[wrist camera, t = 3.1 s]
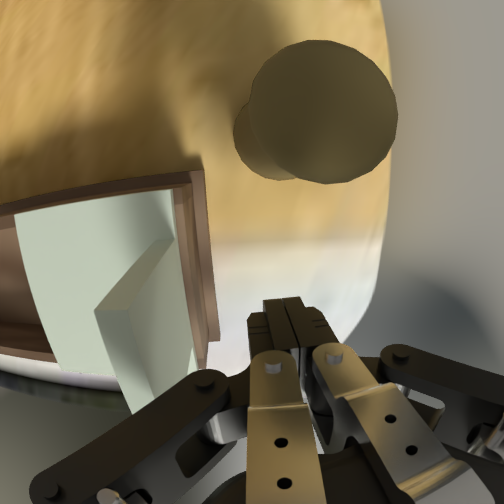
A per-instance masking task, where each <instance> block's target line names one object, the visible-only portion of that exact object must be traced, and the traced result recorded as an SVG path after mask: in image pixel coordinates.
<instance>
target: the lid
mask: <svg viewBox="0 0 504 504" xmlns="http://www.w3.org/2000/svg"><path fill="white" fill-rule="evenodd" d="M14 218H15V224H16V230H17V235H18V240H19V245H20V250H21V254H22V259H23V263H24V267H25V271H26V275H27V278H28V282H29V285H30V289H31V292H32V296H33V299H34V302H35V305H36V308H37V311H38V314H39V317H40V320H41V322H42V325H43V328H44V331H45V333H46V336H47V338H48V341H49V343H50V346H51V348H52V351H53V353H54V355H55V358H56V360H57V362H58V364H59V366H60V369H61V371H69V372H78V373H87V374H98V375H112V376H116V377H117V380H118V382H119V385H120V387H121V389H122V392H123V394H124V396H125V399H126V401H127V403H128V406H129V408H130V410H131V412H132V414H134V413H136V412H137V411H138V410H140V409H141V408H143V407H144V406H146V405H147V404H148V403H150V402H151V401H153V400H154V399H156V398H157V397H158V396H160V395H161V394H163V393H164V392H165V391H167V390H168V389H169V388H171V387H172V386H174V385H175V384H176V383H178V382H179V381H180V380H182V379H183V378H184V377H186V376H187V375H189V374H190V373H192V372H194V371H197V370H199V367H198V362H197V357H196V352H195V347H194V342H193V336H192V331H191V325H190V319H189V313H188V307H187V301H186V295H185V288H184V281H183V275H182V267H181V260H180V252H179V244H178V236H177V228H176V218H175V209H174V199H173V189H165V190H156V191H148V192H140V193H132V194H124V195H117V196H110V197H104V198H97V199H91V200H85V201H79V202H73V203H67V204H62V205H56V206H51V207H46V208H41V209H36V210H31V211H26V212H22V213H18V214H15V215H14Z"/></svg>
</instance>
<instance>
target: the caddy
mask: <svg viewBox="0 0 504 504" xmlns="http://www.w3.org/2000/svg"><path fill="white" fill-rule="evenodd" d="M165 189H173V199H174V209H175V218H176V228H177V236H178V244H179V252H180V260H181V267H182V275H183V281H184V288H185V295H186V301H187V307H188V313H189V319H190V325H191V331H192V336H193V342H194V347H195V352H196V357H197V362H198V367H199V369H206V363H207V353H208V343H209V342H213V341H220V327H219V319H218V311H217V302H216V293H215V284H214V275H213V266H212V256H211V245H210V235H209V224H208V212H207V200H206V187H205V173H204V170H196V171H186V172H177V173H168V174H159V175H152V176H144V177H137V178H130V179H123V180H117V181H110V182H104V183H98V184H93V185H87V186H82V187H77V188H71V189H66V190H62V191H57V192H52V193H48V194H43V195H39V196H34V197H30V198H26V199H22V200H18V201H14V202H10V203H7V204H3V205H0V354H4V355H10V356H15V357H21V358H27V359H33V360H40V361H47V362H54V363H58V362H57V360H56V358H55V355H54V353H53V351H52V348H51V346H50V343H49V341H48V338H47V336H46V333H45V331H44V328H43V325H42V322H41V320H40V317H39V314H38V311H37V308H36V305H35V302H34V299H33V296H32V292H31V289H30V285H29V282H28V278H27V275H26V271H25V267H24V263H23V259H22V254H21V250H20V245H19V240H18V235H17V230H16V224H15V218H14V215H15V214H18V213H22V212H26V211H31V210H36V209H41V208H46V207H51V206H56V205H62V204H67V203H73V202H79V201H85V200H91V199H97V198H104V197H110V196H117V195H124V194H132V193H140V192H148V191H156V190H165Z"/></svg>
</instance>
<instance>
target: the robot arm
mask: <svg viewBox="0 0 504 504" xmlns="http://www.w3.org/2000/svg"><path fill="white" fill-rule="evenodd" d="M247 327H248V339H249V351H250V360H251V363H250V365H249V366H248V368H247V369H245V370H244V371H243V372H241V373H239V374H237V375H234V376H230V377H227V376H226V375H225V374H223V373H222V372H220V371H217V370H213V369H202V370H197V371H194V372H192V373H190V374H189V375H187V376H186V377H184V378H183V379H182V380H180V381H179V382H178V383H176V384H175V385H174V386H172V387H171V388H169V389H168V390H167V391H165V392H164V393H163V394H161V395H160V396H158V397H157V398H156V399H154V400H153V401H151V402H150V403H148V404H147V405H146V406H144V407H143V408H141V409H140V410H138V411H137V412H136V413H134V414H133V415H131V416H130V417H128V418H127V419H125V420H124V421H122V422H121V423H119V424H118V425H117V426H115V427H113V428H112V429H110V430H109V431H107V432H106V433H104V434H103V435H101V436H100V437H98V438H97V439H95V440H93V441H92V442H90V443H89V444H87V445H86V446H84V447H82V448H81V449H79V450H78V451H76V452H74V453H73V454H71V455H69V456H68V457H66V458H65V459H63V460H61V461H59V462H58V463H56V464H54V465H53V466H51V467H49V468H47V469H46V470H44V471H42V472H41V473H39V474H38V475H36V476H35V477H34V478H33V480H32V482H31V484H30V488H29V494H30V499H31V501H32V503H33V504H173V503H175V502H176V501H177V500H178V499H179V498H181V497H182V496H183V495H184V494H185V493H186V492H187V491H188V490H190V489H191V488H192V487H193V486H194V485H195V484H196V483H197V482H198V481H199V480H200V479H202V478H203V477H204V476H205V475H206V474H207V473H208V472H209V471H210V470H211V469H212V468H213V467H214V466H215V465H216V464H217V463H218V462H219V461H220V460H221V459H222V458H223V457H224V456H225V455H226V454H227V453H228V452H229V451H230V450H231V449H232V448H233V447H234V446H235V445H236V443H237V440H238V439H241V438H244V437H247V468H246V471H244V472H242V473H239V474H237V475H236V476H233V477H232V478H230V479H228V480H227V481H225V482H224V483H223V484H221V485H220V486H219V487H218V488H217V489H216V490H215V491H214V492H213V493H212V494H211V495H210V496H209V497H208V498H207V499H206V500H205V501H204V502H203V503H202V504H504V376H502V375H499V374H495V373H492V372H489V371H485V370H482V369H479V368H475V367H472V366H469V365H466V364H462V363H459V362H456V361H453V360H450V359H447V358H444V357H441V356H438V355H434V354H431V353H428V352H426V351H422V350H420V349H416V348H413V347H410V346H408V345H403V344H392V345H389V346H386V347H385V348H384V349H383V350H382V351H381V353H380V357H359V356H357V354H356V353H355V352H354V350H352V348H350V347H349V346H347V345H345V344H341V343H339V341H338V339H337V338H336V336H335V334H334V332H333V331H332V329H331V327H330V326H329V324H328V322H327V320H326V319H325V317H324V315H323V314H322V312H321V311H319V310H318V309H316V308H315V307H305V306H304V304H303V302H302V300H301V298H300V297H289V298H282V299H281V298H280V299H269V300H263V312H256V313H251V314H250V316H249V317H248V319H247ZM411 389H412V390H415V391H418V392H420V393H423V394H426V395H429V396H431V397H434V398H437V399H439V400H441V401H443V403H444V404H445V407H444V408H442V409H435V408H433V407H430V406H427V405H425V404H422V403H419V402H417V401H414V400H412V399H409V398H408V395H409V392H410V390H411ZM303 398H307V399H308V402H309V405H308V404H307V403H304V402H303ZM312 425H313V427H314V430H315V432H316V434H317V437H318V439H319V441H320V444H321V446H322V449H323V451H324V454H318V453H317V448H316V442H315V437H314V432H313V427H312Z"/></svg>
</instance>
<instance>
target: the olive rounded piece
mask: <svg viewBox="0 0 504 504" xmlns="http://www.w3.org/2000/svg"><path fill="white" fill-rule="evenodd" d="M397 120H398V111H397V105H396V99H395V95H394V92H393V90H392V88H391V86H390V84H389V82H388V80H387V78H386V76H385V75H384V74H383V73H382V71H381V70H380V69H379V68H378V67H377V66H376V64H375V63H374V62H373V61H372V60H370V59H369V58H367V57H366V56H365V55H363V54H362V53H360V52H359V51H357V50H356V49H354V48H351V47H348V46H346V45H343V44H340V43H337V42H333V41H328V40H307V41H303V42H300V43H296V44H293V45H290V46H287V47H285V48H284V49H282V50H281V51H279V52H278V53H277V54H275V55H274V56H273V57H271V58H270V59H269V60H267V61H266V62H265V63H264V65H263V66H262V68H261V69H260V71H259V73H258V74H257V76H256V77H255V79H254V81H253V85H252V90H251V95H250V100H249V103H248V104H246V105H245V106H244V107H243V108H242V110H241V112H240V114H239V115H238V117H237V119H236V122H235V127H234V133H233V135H234V142H235V148H236V150H237V152H238V154H239V156H240V158H241V160H242V161H243V162H244V163H245V164H246V165H247V166H248V167H249V168H250V169H251V170H252V171H253V172H255V173H257V174H259V175H260V176H262V177H264V178H268V179H273V180H279V181H280V180H289V179H295V178H299V179H303V180H308V181H312V182H317V183H321V184H334V183H345V182H349V181H351V180H353V179H355V178H358V177H360V176H362V175H364V174H366V173H368V172H370V171H372V170H373V169H374V168H375V167H376V166H377V165H378V164H379V163H380V162H381V161H382V160H383V159H384V158H385V157H386V156H387V154H388V152H389V150H390V148H391V146H392V144H393V142H394V140H395V135H396V127H397Z"/></svg>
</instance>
